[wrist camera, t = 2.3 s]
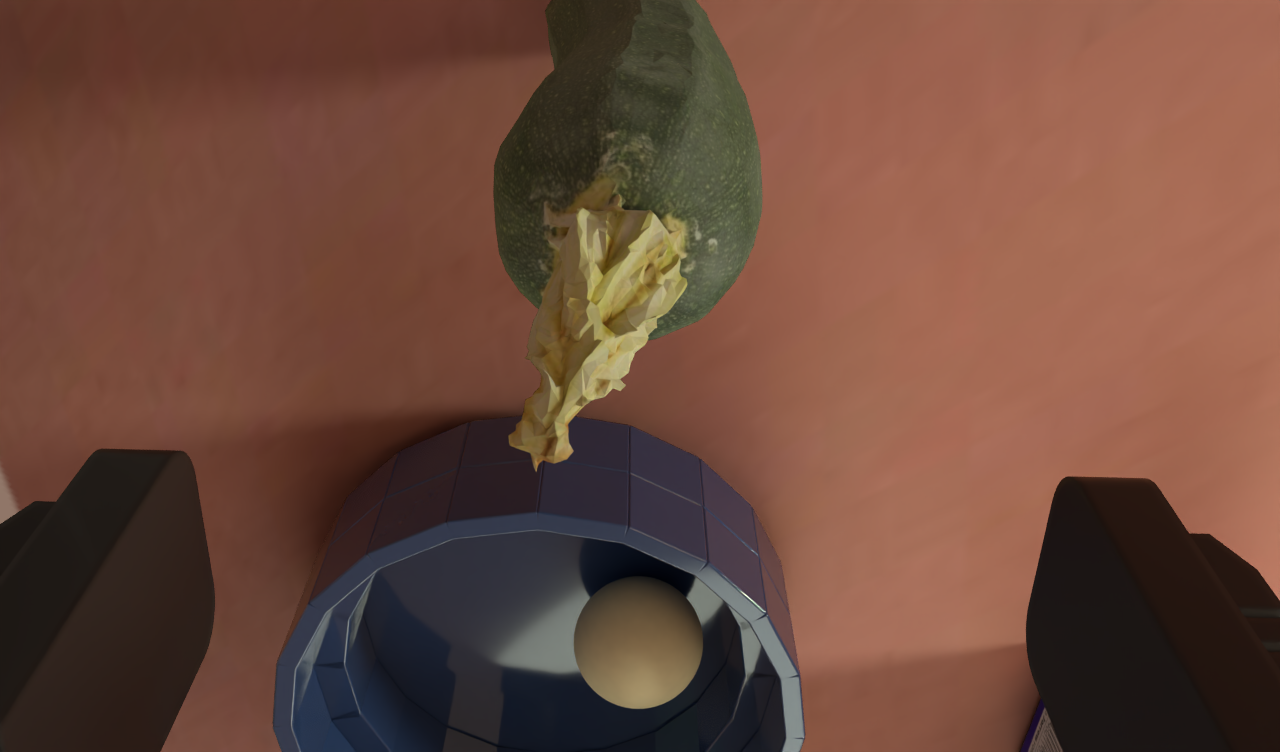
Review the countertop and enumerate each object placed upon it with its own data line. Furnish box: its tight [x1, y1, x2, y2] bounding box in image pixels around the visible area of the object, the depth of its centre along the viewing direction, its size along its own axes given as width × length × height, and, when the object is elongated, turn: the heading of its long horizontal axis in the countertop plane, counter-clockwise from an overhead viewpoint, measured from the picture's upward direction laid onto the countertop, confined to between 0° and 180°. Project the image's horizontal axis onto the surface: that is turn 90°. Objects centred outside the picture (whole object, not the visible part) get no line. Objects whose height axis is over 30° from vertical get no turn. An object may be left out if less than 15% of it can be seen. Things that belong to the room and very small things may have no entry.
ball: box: [574, 576, 703, 709], centre depth 38 cm, size 4×4×4 cm
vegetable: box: [494, 0, 762, 471], centre depth 23 cm, size 4×4×20 cm
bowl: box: [273, 416, 805, 752], centre depth 38 cm, size 15×15×6 cm
